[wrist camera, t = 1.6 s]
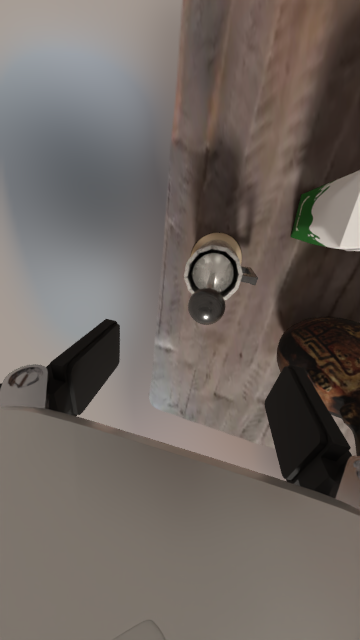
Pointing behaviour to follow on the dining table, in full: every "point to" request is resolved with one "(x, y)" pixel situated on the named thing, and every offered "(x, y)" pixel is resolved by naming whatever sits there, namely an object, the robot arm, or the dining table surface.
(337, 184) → the milk carton
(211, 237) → the cork coaster
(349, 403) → the ceramic vessel
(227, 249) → the white mug
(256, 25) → the dining table surface
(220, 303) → the ball-topped lever
